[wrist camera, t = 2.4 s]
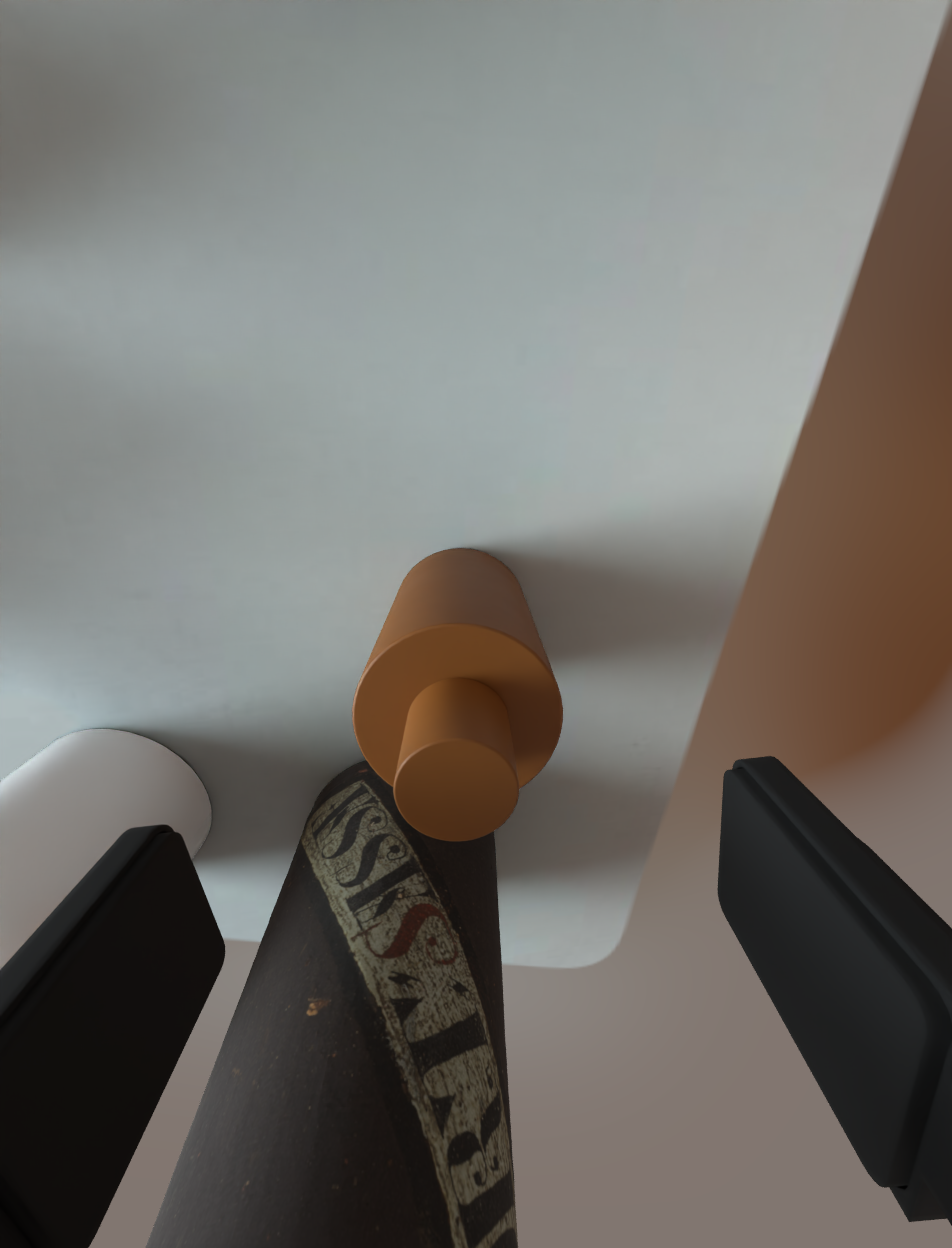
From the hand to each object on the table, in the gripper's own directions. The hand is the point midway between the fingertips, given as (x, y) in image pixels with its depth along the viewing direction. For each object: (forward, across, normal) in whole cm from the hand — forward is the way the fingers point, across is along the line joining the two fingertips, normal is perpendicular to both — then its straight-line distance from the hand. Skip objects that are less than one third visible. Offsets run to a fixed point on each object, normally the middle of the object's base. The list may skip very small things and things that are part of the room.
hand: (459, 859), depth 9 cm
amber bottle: (+12, 0, -1) cm, 12 cm away
